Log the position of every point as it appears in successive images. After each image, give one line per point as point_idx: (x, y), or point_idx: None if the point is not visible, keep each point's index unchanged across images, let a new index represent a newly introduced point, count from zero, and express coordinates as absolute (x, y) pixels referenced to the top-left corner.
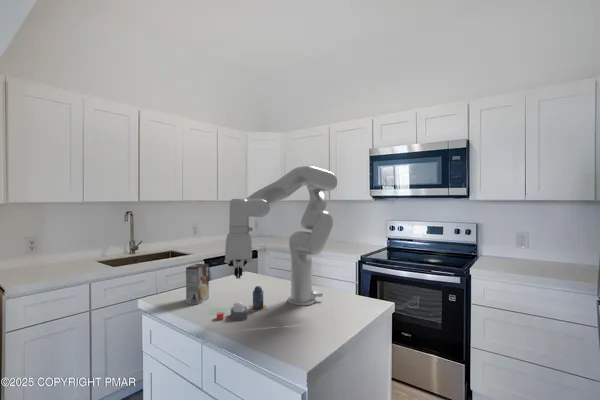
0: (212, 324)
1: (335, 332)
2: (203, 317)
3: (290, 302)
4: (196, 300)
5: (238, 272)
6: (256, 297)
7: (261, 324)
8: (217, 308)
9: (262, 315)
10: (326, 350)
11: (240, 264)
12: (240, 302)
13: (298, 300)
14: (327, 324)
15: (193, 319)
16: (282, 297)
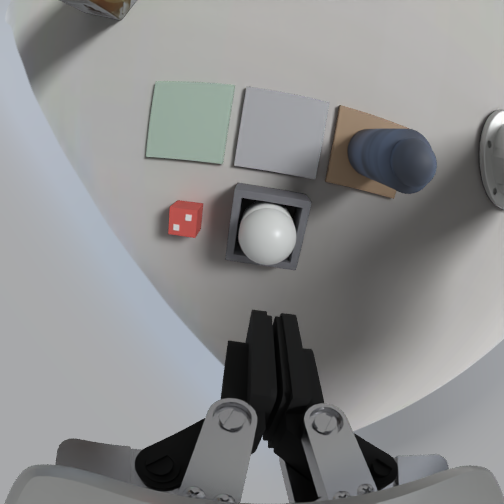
0: (162, 251)
1: (435, 374)
2: (128, 170)
3: (482, 167)
4: (106, 14)
5: (275, 356)
6: (381, 182)
7: (326, 306)
8: (185, 88)
9: (361, 231)
10: (374, 418)
11: (285, 481)
12: (275, 255)
13: (501, 188)
14: (454, 342)
15: (97, 181)
16: (476, 79)
